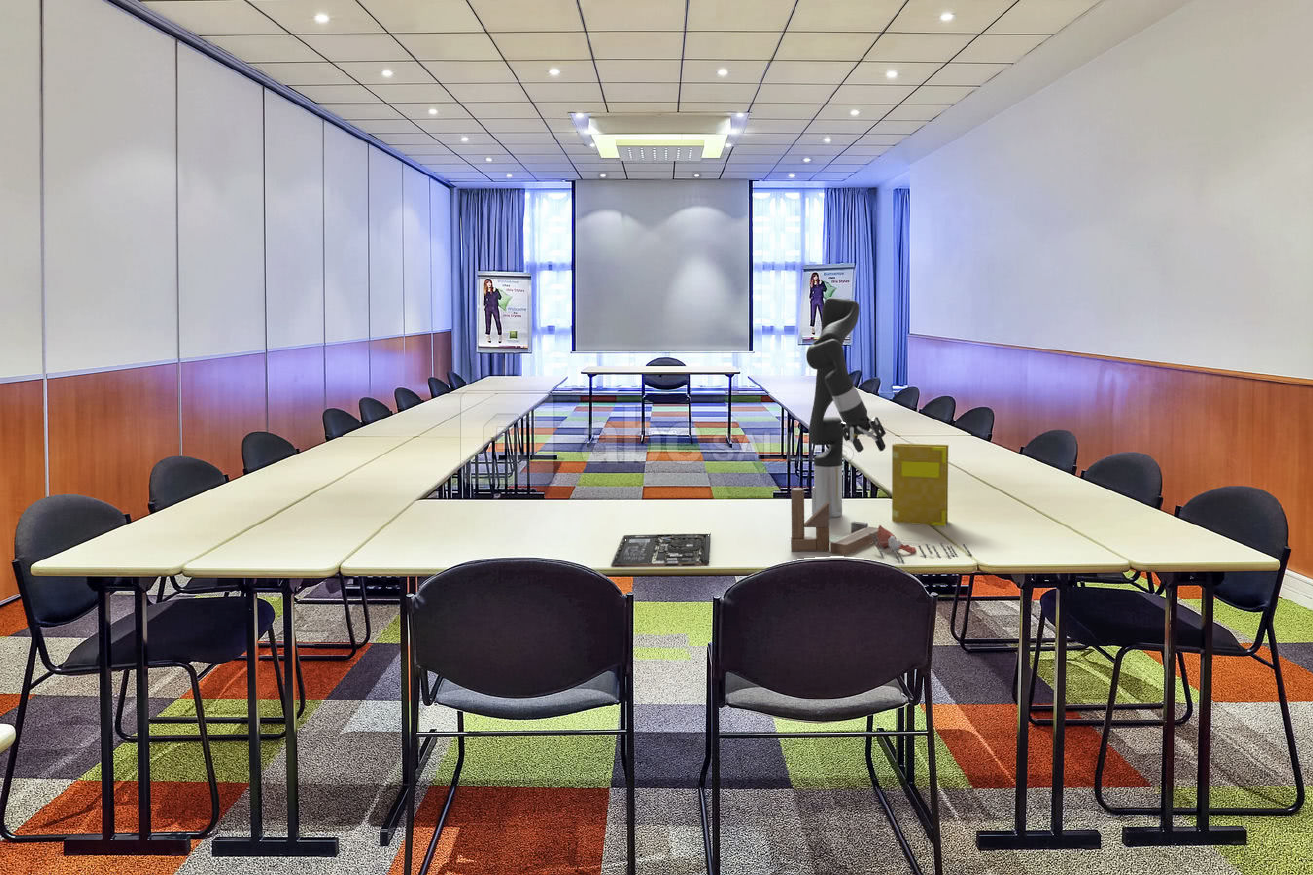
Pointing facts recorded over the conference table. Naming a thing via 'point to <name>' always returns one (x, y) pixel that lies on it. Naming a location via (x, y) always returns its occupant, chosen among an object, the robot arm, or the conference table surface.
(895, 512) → the book
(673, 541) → the laptop interior
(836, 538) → the end pad
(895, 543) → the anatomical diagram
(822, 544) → the wooden block
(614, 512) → the conference table surface
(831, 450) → the robot arm
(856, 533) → the walnut rail
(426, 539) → the conference table surface
